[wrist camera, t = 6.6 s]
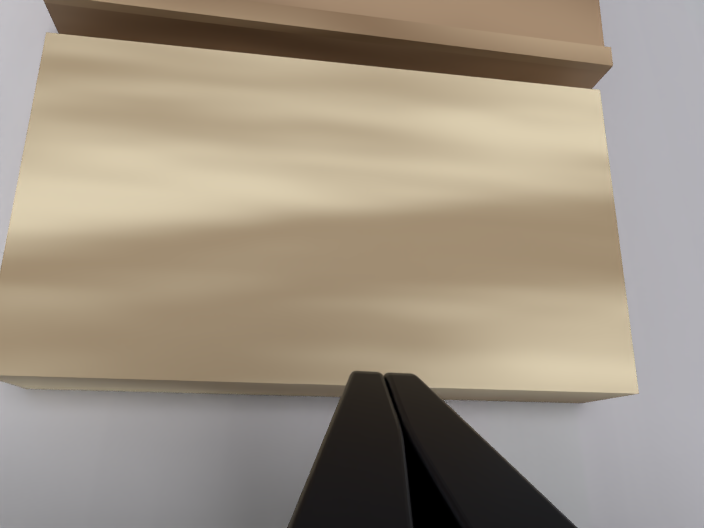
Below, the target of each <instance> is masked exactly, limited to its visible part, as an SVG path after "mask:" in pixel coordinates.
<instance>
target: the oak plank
mask: <svg viewBox="0 0 704 528" xmlns="http://www.w3.org/2000/svg"><path fill="white" fill-rule="evenodd" d="M353 371H372V372H380V373H382V374H383V376H384V374H386V373H388V372H392V373H412V374H415V375H416V376H418V377H419V378H420V379H421V380H422V381H423V382H424V383H425V384H426V385H427V386H428V387H429V388H431V389H432V390H433V391H434V392H435V393H436V394H437V395H438V396H439V397H440V398H441V399H442V400H481V401H520V402H559V403H586V402H592V401H598V400H604V399H610V398H616V397H622V396H628V395H633V394H639V391H638V384H637V376H636V368H635V360H634V353H633V345H632V337H631V329H630V321H629V314H628V306H627V298H626V290H625V282H624V275H623V267H622V259H621V251H620V244H619V236H618V228H617V220H616V212H615V205H614V197H613V189H612V181H611V174H610V166H609V158H608V150H607V142H606V135H605V127H604V119H603V111H602V103H601V96H600V90H595V89H586V88H576V87H567V86H557V85H547V84H538V83H528V82H518V81H509V80H499V79H490V78H480V77H470V76H461V75H451V74H441V73H432V72H422V71H413V70H403V69H393V68H384V67H374V66H364V65H355V64H345V63H336V62H326V61H316V60H307V59H297V58H287V57H278V56H268V55H259V54H249V53H239V52H230V51H220V50H210V49H201V48H191V47H182V46H172V45H162V44H153V43H143V42H133V41H124V40H114V39H105V38H95V37H85V36H76V35H66V34H56V33H47V32H46V37H45V42H44V47H43V52H42V57H41V63H40V68H39V73H38V78H37V83H36V89H35V94H34V99H33V104H32V109H31V115H30V120H29V125H28V130H27V135H26V141H25V146H24V151H23V156H22V161H21V167H20V172H19V177H18V182H17V187H16V192H15V198H14V203H13V208H12V213H11V218H10V224H9V229H8V234H7V239H6V244H5V250H4V255H3V260H2V265H1V270H0V381H2V382H6V383H9V384H12V385H15V386H19V387H22V388H25V389H54V390H93V391H132V392H171V393H209V394H248V395H287V396H326V397H341V395H342V393H343V391H344V388H345V386H346V383H347V381H348V378H349V376H350V374H351V373H352V372H353Z"/></svg>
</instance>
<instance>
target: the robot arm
mask: <svg viewBox="0 0 704 528" xmlns="http://www.w3.org/2000/svg"><path fill="white" fill-rule="evenodd" d="M287 528H577V527H576V526H575V525H574V524H573V523H572V522H571V521H570V520H569V519H568V518H567V517H566V516H565V515H564V514H563V513H562V512H560V511H559V510H558V509H557V508H556V507H555V506H554V505H553V504H552V503H551V502H550V501H549V500H548V499H547V498H546V497H545V496H544V495H543V494H541V493H540V492H539V491H538V490H537V489H536V488H535V487H534V486H533V485H532V484H531V483H530V482H529V481H528V480H527V479H526V478H525V477H524V476H522V475H521V474H520V473H519V472H518V471H517V470H516V469H515V468H514V467H513V466H512V465H511V464H510V463H509V462H508V461H507V460H506V459H504V458H503V457H502V456H501V455H500V454H499V453H498V452H497V451H496V450H495V449H494V448H493V447H492V446H491V445H490V444H489V443H488V442H487V441H485V440H484V439H483V438H482V437H481V436H480V435H479V434H478V433H477V432H476V431H475V430H474V429H473V428H472V427H471V426H470V425H469V424H468V423H466V422H465V421H464V420H463V419H462V418H461V417H460V416H459V415H458V414H457V413H456V412H455V411H454V410H453V409H452V408H451V407H450V406H448V405H447V404H446V403H445V402H444V401H443V400H442V399H441V398H440V397H439V396H438V395H437V394H436V393H435V392H434V391H433V390H432V389H431V388H429V387H428V386H427V385H426V384H425V383H424V382H423V381H422V380H421V379H420V378H419V377H418V376H416V375H415V374H412V373H392V372H388V373H386V374H384V376H383V374H382V373H380V372H372V371H353V372H352V373H351V374H350V376H349V378H348V381H347V383H346V386H345V388H344V391H343V393H342V395H341V398H340V400H339V403H338V405H337V408H336V410H335V413H334V415H333V417H332V420H331V422H330V425H329V427H328V430H327V432H326V435H325V437H324V439H323V442H322V444H321V447H320V449H319V452H318V454H317V457H316V459H315V461H314V464H313V466H312V469H311V471H310V474H309V476H308V478H307V481H306V483H305V486H304V488H303V491H302V493H301V496H300V498H299V500H298V503H297V505H296V508H295V510H294V513H293V515H292V518H291V520H290V522H289V525H288V527H287Z"/></svg>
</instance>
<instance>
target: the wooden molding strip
mask: <svg viewBox="0 0 704 528" xmlns="http://www.w3.org/2000/svg"><path fill="white" fill-rule="evenodd" d="M44 2H45V5H46V7H47V9H48V11H49V13H50V16H51V18H52V20H53V22H54V24H55V26H56V29H57V31H58V33H59V34H66V35H76V36H85V37H95V38H105V39H114V40H124V41H133V42H143V43H153V44H162V45H172V46H182V47H191V48H201V49H210V50H220V51H230V52H239V53H249V54H259V55H268V56H278V57H287V58H297V59H307V60H316V61H326V62H336V63H345V64H355V65H364V66H374V67H384V68H393V69H403V70H413V71H422V72H432V73H441V74H451V75H461V76H470V77H480V78H490V79H499V80H509V81H518V82H528V83H538V84H547V85H557V86H567V87H576V88H586V89H592V88H593V87H594V86H595V85H596V84H597V83H598V81H599V80H600V79H601V78H602V77H603V76H604V75H605V74H606V73H607V72H608V71H609V69H610V68H611V67H612V66H613V62H612V53H611V47H604V41H603V32H602V23H601V14H600V5H599V0H44Z"/></svg>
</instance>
